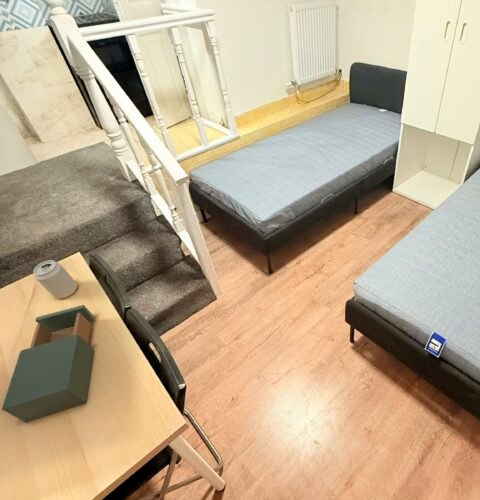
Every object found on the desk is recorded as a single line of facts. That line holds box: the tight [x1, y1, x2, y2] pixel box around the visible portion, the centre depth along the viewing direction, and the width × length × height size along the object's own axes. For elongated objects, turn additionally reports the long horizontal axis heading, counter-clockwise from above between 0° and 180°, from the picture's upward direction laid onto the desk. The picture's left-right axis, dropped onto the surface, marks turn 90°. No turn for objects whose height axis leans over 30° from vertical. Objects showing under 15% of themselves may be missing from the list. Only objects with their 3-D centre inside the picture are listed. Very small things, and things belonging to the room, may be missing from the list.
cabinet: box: [1, 335, 95, 423], centre depth 85 cm, size 16×14×9 cm
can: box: [32, 259, 78, 300], centre depth 107 cm, size 8×8×12 cm
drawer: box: [29, 304, 96, 348], centre depth 94 cm, size 16×12×7 cm
